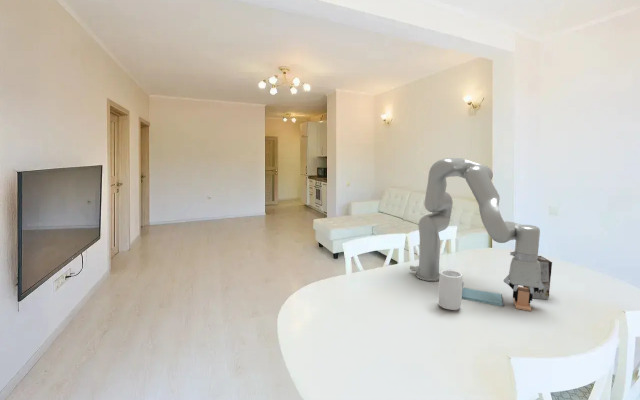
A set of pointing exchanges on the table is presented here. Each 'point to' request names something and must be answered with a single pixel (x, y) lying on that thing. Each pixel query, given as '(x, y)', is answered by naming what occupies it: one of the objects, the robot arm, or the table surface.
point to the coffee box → (544, 278)
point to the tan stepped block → (522, 299)
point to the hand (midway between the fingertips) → (522, 300)
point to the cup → (450, 289)
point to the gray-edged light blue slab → (482, 296)
